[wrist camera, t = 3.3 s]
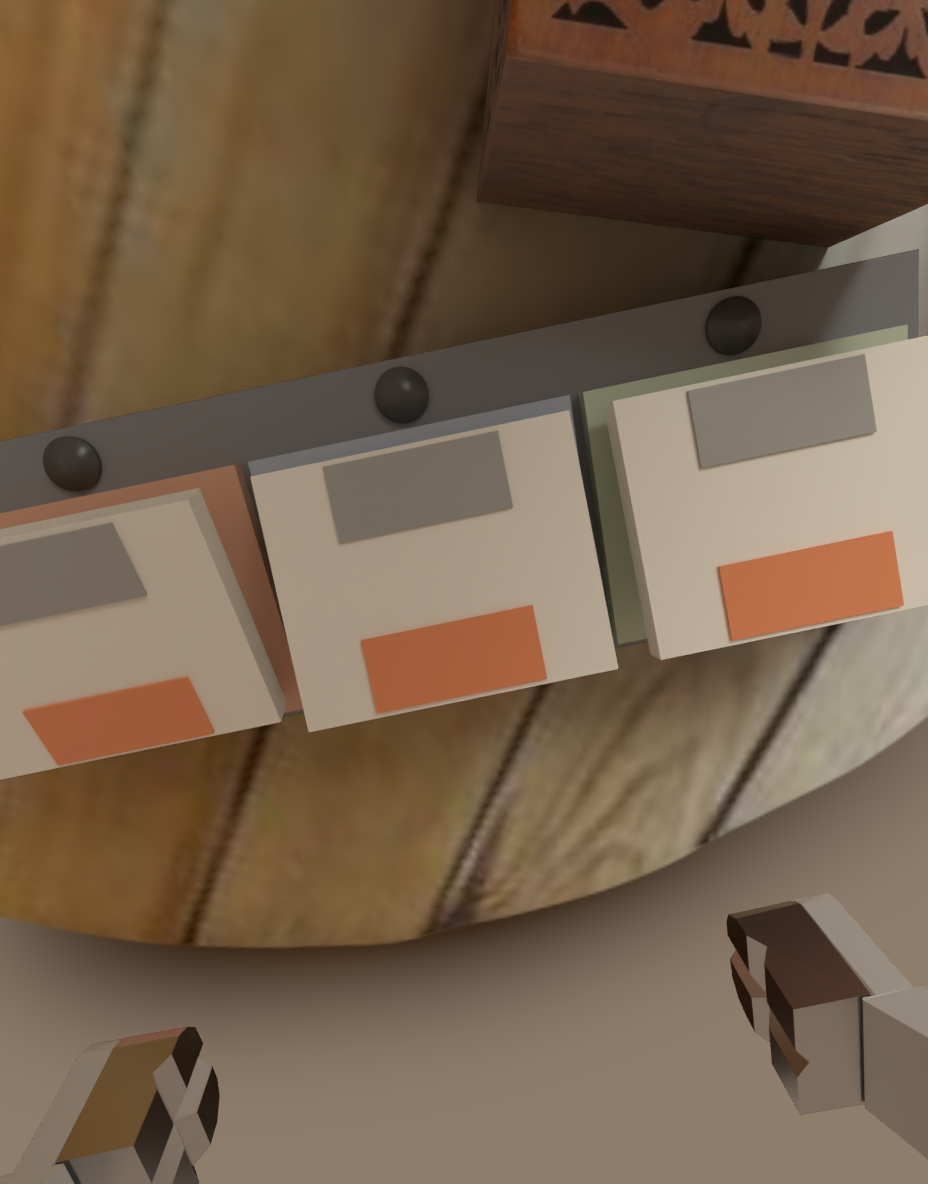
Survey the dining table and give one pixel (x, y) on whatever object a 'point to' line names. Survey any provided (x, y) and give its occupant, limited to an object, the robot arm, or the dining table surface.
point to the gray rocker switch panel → (455, 416)
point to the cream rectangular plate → (436, 571)
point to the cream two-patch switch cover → (777, 497)
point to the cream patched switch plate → (124, 636)
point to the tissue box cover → (711, 113)
